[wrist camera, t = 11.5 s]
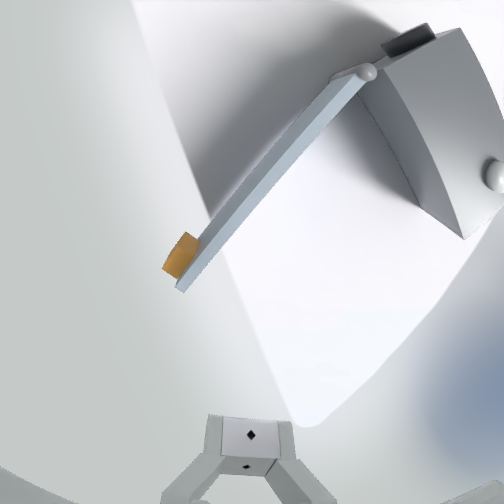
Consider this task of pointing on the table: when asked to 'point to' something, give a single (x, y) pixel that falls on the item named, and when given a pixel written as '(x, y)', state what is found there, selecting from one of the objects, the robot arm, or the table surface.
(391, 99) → the camera case
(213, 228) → the side door
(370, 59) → the table surface
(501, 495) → the robot arm
